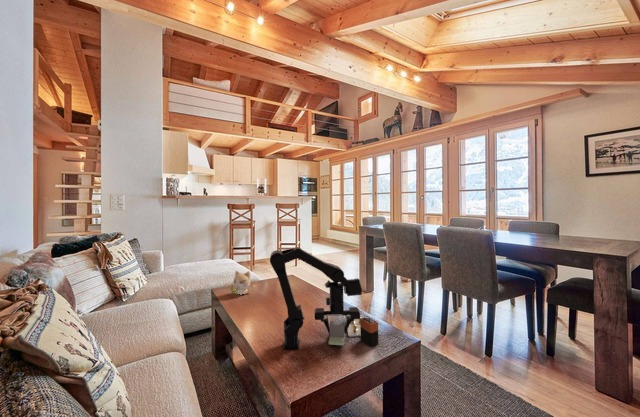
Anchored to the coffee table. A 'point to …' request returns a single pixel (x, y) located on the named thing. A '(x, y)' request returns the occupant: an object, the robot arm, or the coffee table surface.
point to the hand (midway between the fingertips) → (337, 333)
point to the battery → (369, 331)
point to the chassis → (354, 328)
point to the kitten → (242, 283)
